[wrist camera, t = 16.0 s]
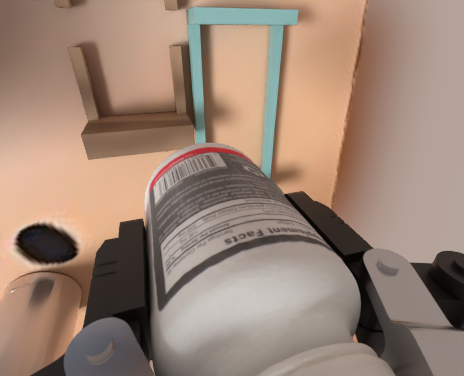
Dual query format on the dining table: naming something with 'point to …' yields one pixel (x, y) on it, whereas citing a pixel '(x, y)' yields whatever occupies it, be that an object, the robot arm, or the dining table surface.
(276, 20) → the frame
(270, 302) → the pill bottle
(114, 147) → the walnut lane broken
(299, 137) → the dining table surface
